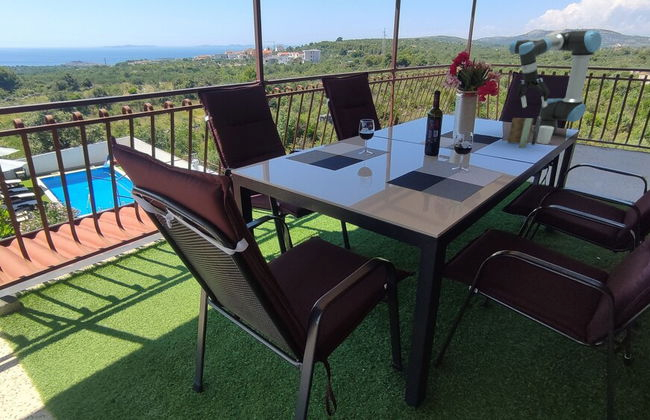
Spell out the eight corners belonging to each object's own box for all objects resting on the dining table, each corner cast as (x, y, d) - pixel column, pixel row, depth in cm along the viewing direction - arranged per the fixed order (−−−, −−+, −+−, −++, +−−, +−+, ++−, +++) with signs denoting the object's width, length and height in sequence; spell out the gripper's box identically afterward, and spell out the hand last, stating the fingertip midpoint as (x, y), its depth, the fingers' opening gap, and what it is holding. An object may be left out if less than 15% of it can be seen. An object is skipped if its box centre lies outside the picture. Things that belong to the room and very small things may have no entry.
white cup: (548, 145, 229) (553, 128, 225) (534, 143, 233) (538, 127, 229) (550, 142, 235) (555, 126, 231) (537, 140, 239) (541, 125, 235)
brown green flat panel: (527, 142, 232) (533, 118, 226) (528, 143, 231) (534, 118, 225) (507, 141, 233) (512, 117, 227) (508, 142, 232) (513, 118, 226)
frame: (532, 143, 231) (539, 116, 224) (535, 144, 230) (542, 116, 223) (518, 147, 223) (525, 118, 216) (522, 148, 222) (528, 119, 215)
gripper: (507, 75, 222) (512, 109, 230) (544, 71, 199) (549, 109, 207) (516, 70, 224) (521, 104, 232) (554, 66, 201) (558, 103, 209)
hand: (534, 106), depth 220 cm, fingers open, 13 cm apart
